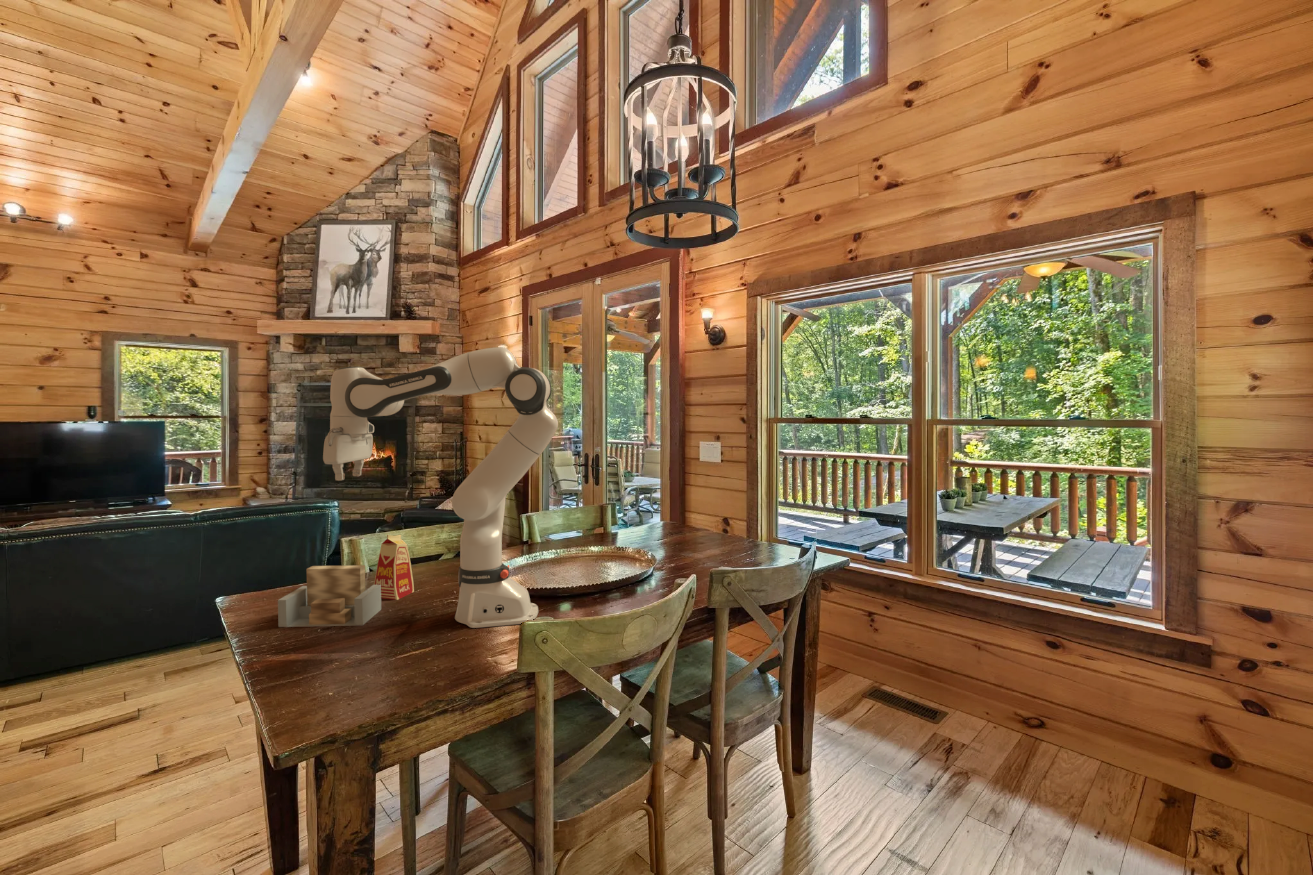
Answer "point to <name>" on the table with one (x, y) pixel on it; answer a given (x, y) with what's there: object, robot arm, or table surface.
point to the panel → (335, 583)
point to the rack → (297, 615)
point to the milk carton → (394, 569)
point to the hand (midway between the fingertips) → (348, 478)
